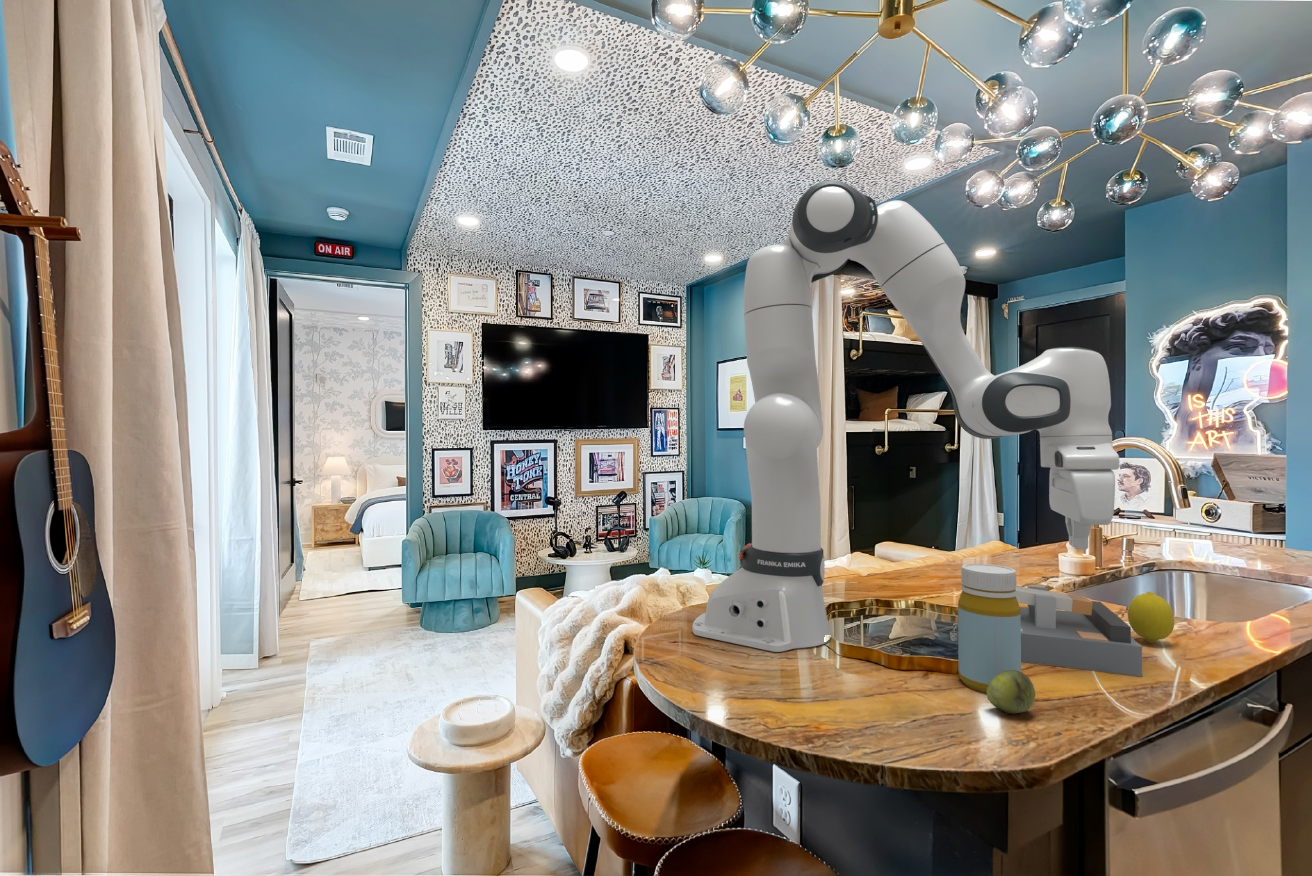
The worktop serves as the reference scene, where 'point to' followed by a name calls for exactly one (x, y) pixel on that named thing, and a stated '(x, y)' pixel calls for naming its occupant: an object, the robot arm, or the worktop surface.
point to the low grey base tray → (1078, 638)
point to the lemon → (1151, 617)
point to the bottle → (988, 624)
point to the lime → (1011, 692)
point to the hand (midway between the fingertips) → (1078, 547)
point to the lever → (1062, 600)
